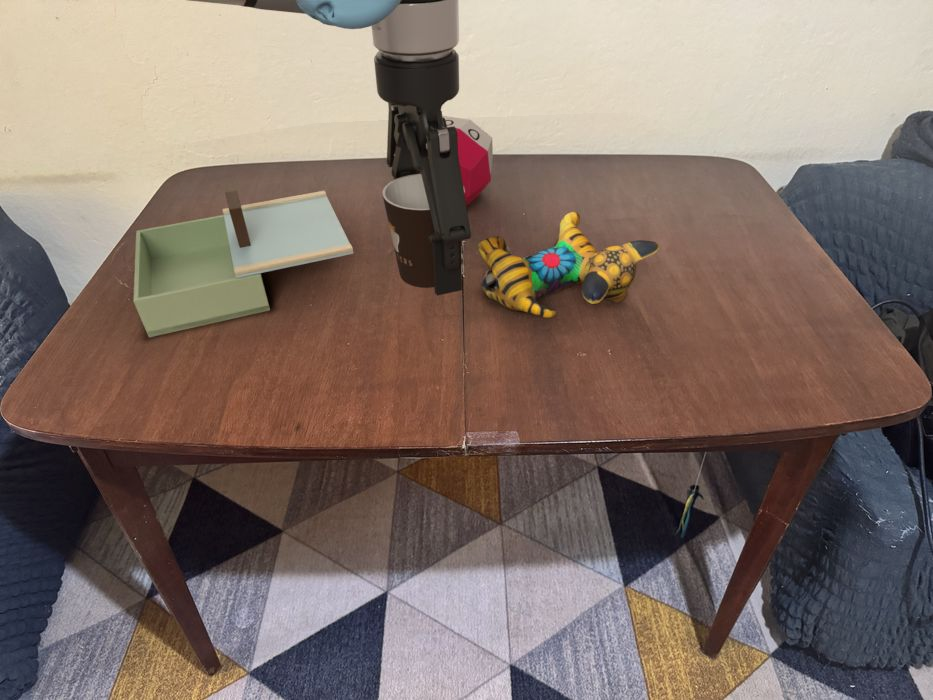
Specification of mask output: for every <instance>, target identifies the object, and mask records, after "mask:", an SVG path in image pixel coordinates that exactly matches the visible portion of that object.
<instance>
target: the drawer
mask: <svg viewBox="0 0 933 700" xmlns="http://www.w3.org/2000/svg"><path fill="white" fill-rule="evenodd" d="M225 199H226V203H227V207H226V208H222V215H224V219H225V224H226V230H227V235H228V240H229V245H230V250H231V256H232V261H233V266H234V273H235V276H236V278H239V277H244V276H249V275H253V274H258V273H261V274H262V273H267V272H268V273H269V272H273V271H277V270H282V269H287V268H291V267H296V266H301V265H305V264H311V263H315V262H320V261H324V260H329V259H334V258H340V257H344V256H348V255H353V254H354V248H353V246H352V244H351V243H350V241H349V239H348V236H347V235H346V232H345V230H344V228H343V227H342V224H341V222H340V220H339V218H338V217H337V214H336V212H335V210H334V208H333V206H332V204H331V201H330V200H329V198H328V196H327V192H326V190H319V191H315V192H309V193H308V192H307V193H303V194H297V195H292V196H287V197H281V198H275V199H270V200H264V201H259V202H253V203H248V204H242V205H241V201H240V196H239V193H238V190H231V191H230V190H229V191H226V192H225Z"/></svg>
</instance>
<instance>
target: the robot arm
mask: <svg viewBox="0 0 933 700" xmlns="http://www.w3.org/2000/svg"><path fill="white" fill-rule="evenodd" d="M187 1H189V2H198V3H199V2H201V3H208V4H209V3H210V4H220V5H229V6H240V7H243V8H244V7H245V8H252V9H256V10H257V9H258V10H264V11H273V12H274V11H275V12H284V13H293V14H304V15H307V16H308V17H309V18H312V19H313V20H316V21H318V22H320V23H321V24H323V25H327V26H330V27H331V26H332V27H336V28H340V29H346V30H361V29H365V28H366V29H367V28H369V27H370V28H371V35H372V45H373V47H374V48H376V50H378V51H377V52H376V54H375V56H374V57H373V63H374V73H375V83H376V92H377V94H378V97H379V98H380V99H381V100H383V101H384V102H386V103H387V105H388V116H387V145H386V165H387V167H388V168H391V172H390V173H391V176H392V178H393V180H395V179H398V178H401V177H404V176H408V175H414V174H421V175H422V180H423V184H424V188H425V192H426V196H427V201H428V205H429V209H430V213H431V217H432V222H433V226H434V230H435V234H433V235H430V236H429V237H428V238H429V241H430V242H432V251H433V269H434V287H433V288H434V294H435V295H436V297H437V296H442V295H447V294H451V293H455V292H460V291H463V270H462V269H463V268H462V266H463V265H462V262H463V261H462V241H465V240H469V239H471V237H472V231H471V227H470V221H469V214H468V208H467V206H466V201H465V194H464V188H463V182H462V175H461V169H460V163H459V156H458V140H457V135H458V133H457V130H456V128H455V126H453V127H447V125H446V121H445V118H444V117H442V116H443V111H442V107H443V106H444V104H445V103H447V102H448V101H451V100H453V99H454V98H456V96H457V95H458V94H459V92H460V56H459V54H458V52H457V51H456V49H455V48H456V47H457V46H458V44H459V42H460V15H459V13H460V12H459V0H187ZM420 172H421V173H420Z"/></svg>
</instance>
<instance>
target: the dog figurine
mask: <svg viewBox="0 0 933 700" xmlns="http://www.w3.org/2000/svg"><path fill="white" fill-rule="evenodd" d="M580 223H581V215H580V214H579V213H578V212H576V211H571V212H570V211H569V212H568V213H567V214H565V215H564V216H563V218H562V219H561V221H560V223H559V227H558V237H557V239H556V242H555V243H554V245H553V246H552V247H551V248H547V249H543V250H541V251H538V252H537V253H534V254H533V255H528V256H526V257H520V256H517V255H514V254H512V250H510V247H509V245H507V244H506V241H505V239H504V238H503V236H499V235H498V236H496V235H495V236H491V237H487V238H485V239H482V240H481V241H480V242H479V243H478V244H477V249H478V251H479V255H480V257H481V258H482V260H483V261H484V263H485V264H486V265H487V266H488V268H489V270H488V271H486V273H485V274H484V275H483V278H482V280H481V282H480V286H481V289H482V291H483V293H484V294H485V295H486V297H487V298H488V299H490V300H491V301H493V302H495V303H498V304H500V305H501V306H502V307H503V308H505V309H507V310H509V311H516V312H524V313H529V314H533V315H535V316H540V317H542V318H544V319H551V318H553V317H556V316H557V310H556V309H554V308H550V307H548V306H545V305H543V304H540V302H539V301H537V300H539V299H543V298H544V297H547V296H549V295H551V294H553V293H556V292H558V291H560V290H562V289H564V288H567V287H569V286H572V285H579V284H581V294H582V297H583V299H584V300H585V301H586V302H587V303H588V304H591V305H595V304H596V305H597V304H599V303H601V302H602V301H603V300H609V301H610V302H612V303H613V304H618V303H620V302H622V301H624V300H625V299H626V297H627V296H629V295H628V294H629V293H628V289H629V288H630V287H631V285H632V284H633V283H634V280H635V277H636V273H637V263H638V262H640V261H642V260H644V259H646V258H649V257H652V256H654V255H655V254H656V253H657V252H658V251H659V249H660V245H659V243H658V242H656V241H651V240H644V239H639V240H631V241H628V242H626V243H623V244H621V245H611V246H607V247H604V248H603V249H601V250H600V251H598V250H597V249H596V248H595V247H594V245H593V244H592V242H591V241H590V239H588V238H587V236H585V234H584V233H583V232H582V231H581V230H580V229H579V228H578V227H579V225H580Z"/></svg>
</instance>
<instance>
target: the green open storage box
mask: <svg viewBox="0 0 933 700" xmlns="http://www.w3.org/2000/svg"><path fill="white" fill-rule="evenodd" d="M135 232H136V233H135V254H134V278H133V279H134V280H133V304H134V306H135V309H136V311H137V313H138V316H139V317H140V320H141V323H142V325H143V328H144V329H145V331H146V334H147V336H148V338H153V337H156V336H162V335H167V334H170V333H176V332H179V331H183V330H189V329H193V328H198V327H202V326H206V325H211V324H216V323H220V322H224V321H228V320H229V321H230V320H233V319H237V318H241V317H246V316H251V315H255V314H256V315H257V314H260V313H264V312H269V311H271V308H270V304H269V300H268V295H267V293H266V287H265V284H264V280H263V277H262V273H258V274H253V275H249V276H244V277H239V278H236V276H235V273H234V266H233V261H232V256H231V250H230V245H229V240H228V235H227V230H226V224H225V219H224V214H220V215H215V216H210V217H205V218H204V217H203V218H199V219H193V220H187V221H182V222H177V223H172V224H171V223H170V224H166V225H160V226H154V227H149V228H144V229H139V230H135Z"/></svg>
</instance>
